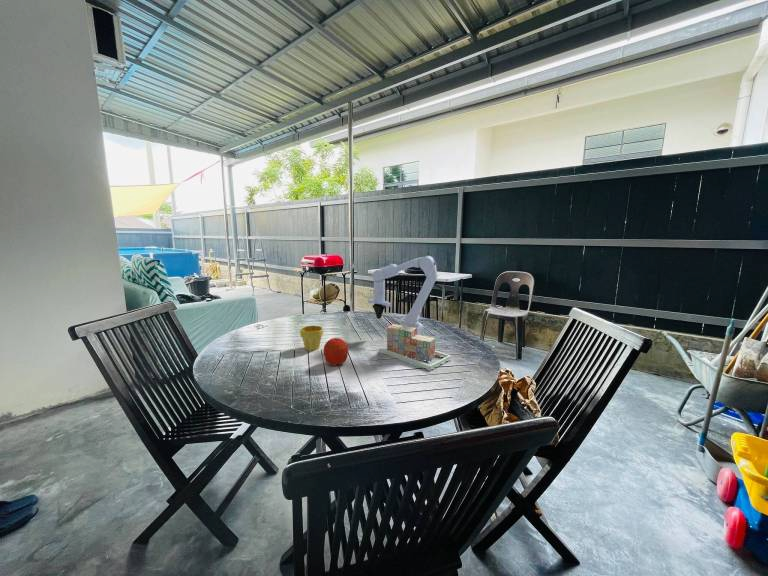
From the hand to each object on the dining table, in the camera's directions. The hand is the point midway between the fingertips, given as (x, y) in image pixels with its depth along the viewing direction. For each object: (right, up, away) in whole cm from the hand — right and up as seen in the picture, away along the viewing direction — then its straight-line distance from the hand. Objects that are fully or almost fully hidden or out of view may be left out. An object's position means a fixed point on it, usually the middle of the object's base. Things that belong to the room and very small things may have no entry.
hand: (378, 318), depth 162 cm
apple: (-18, -16, -32) cm, 40 cm away
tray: (+16, -15, -22) cm, 31 cm away
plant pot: (-31, -13, -15) cm, 37 cm away
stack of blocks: (+15, -15, -22) cm, 30 cm away
